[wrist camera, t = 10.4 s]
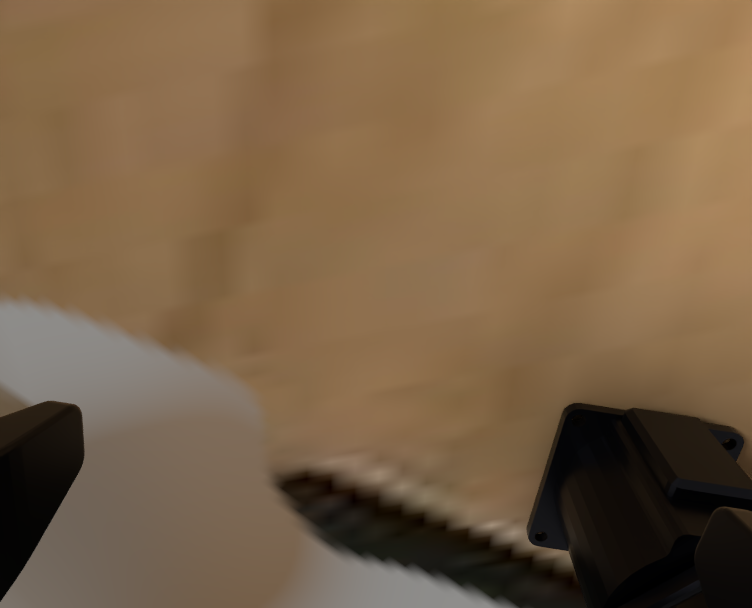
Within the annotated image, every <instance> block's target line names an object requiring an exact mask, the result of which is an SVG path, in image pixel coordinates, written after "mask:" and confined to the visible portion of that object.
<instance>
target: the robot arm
mask: <svg viewBox="0 0 752 608" xmlns="http://www.w3.org/2000/svg"><path fill="white" fill-rule="evenodd" d="M576 415H583V416H582V418H581V419H579V420H576V421H574V420H572V418H573V417H574V416H576ZM730 438H731V439H730ZM726 439H730V440H729V442H727V443H724V444H722V443H723V442H724V440H726ZM743 444H744V440H743V438H742V436H741V435H740V434H739V433H738V432H737V431H736V430H735V429H734V428H731V427H729V426H722V425H716V424H709V423H703V422H702V421H701V420H700V419H698V418H695V417H688V416H682V415H675V414H669V413H663V412H656V411H650V410H643V409H637V408H631V409H628V410H620V409H613V408H607V407H601V406H594V405H588V404H582V403H573V404H571V405H568V406H567V407H566V408H565V409H564V411H563V413H562V416H561V419H560V422H559V425H558V429H557V432H556V435H555V438H554V442H553V445H552V448H551V451H550V454H549V458H548V461H547V464H546V467H545V470H544V474H543V477H542V480H541V483H540V487H539V490H538V493H537V496H536V499H535V503H534V506H533V509H532V512H531V515H530V519H529V522H528V525H527V535H528V539H529V541H530V542H531V543H532V544H533V545H536V546H540V547H547V548H553V549H559V550H566V551H569V554H570V557H571V560H572V563H573V566H574V569H575V572H576V575H577V578H578V581H579V584H580V587H581V590H582V593H583V596H584V599H585V602H586V606H587V608H752V480H751V479H750V478H749V477H748V476H747V474H746V473H745V472H744V471H743V470H742V468H741V467H740V466H739V465H738V464H737V463H736V461H737V458H738V456H739V454H740V452H741V450H742V448H743ZM83 460H84V437H83V422H82V412H81V410H80V408H79V407H78V406H77V405H75V404H69V403H63V402H56V401H46V402H43V403H40V404H37V405H34V406H31V407H28V408H25V409H23V410H20V411H17V412H14V413H11V414H8V415H6V416H3V417H0V601H1V600H2V599H3V597H4V596H5V594H6V593H7V591H8V590H9V589H10V587H11V586H12V584H13V583H14V582H15V580H16V579H17V577H18V576H19V574H20V573H21V571H22V570H23V568H24V566H25V565H26V563H27V561H28V560H29V558H30V557H31V555H32V553H33V551H34V550H35V548H36V547H37V545H38V543H39V541H40V540H41V538H42V536H43V534H44V532H45V531H46V529H47V527H48V526H49V524H50V522H51V520H52V519H53V517H54V515H55V513H56V511H57V510H58V508H59V506H60V505H61V503H62V501H63V499H64V498H65V496H66V494H67V492H68V491H69V488H70V487H71V485H72V483H73V482H74V480H75V478H76V477H77V475H78V473H79V471H80V469H81V467H82V464H83ZM538 532H544V533H542V534H536V533H538Z"/></svg>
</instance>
